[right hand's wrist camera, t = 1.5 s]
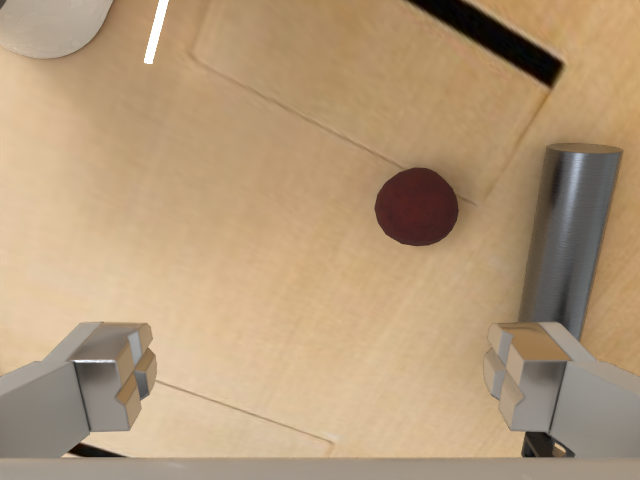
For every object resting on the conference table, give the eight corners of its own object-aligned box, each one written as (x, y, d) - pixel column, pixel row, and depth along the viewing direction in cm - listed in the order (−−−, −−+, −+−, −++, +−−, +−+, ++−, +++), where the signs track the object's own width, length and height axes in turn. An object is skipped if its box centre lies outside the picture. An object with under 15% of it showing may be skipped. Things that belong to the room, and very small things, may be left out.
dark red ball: (443, 229, 46) (465, 255, 39) (370, 232, 46) (379, 258, 39) (448, 160, 43) (471, 175, 37) (370, 163, 43) (380, 178, 37)
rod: (534, 143, 43) (568, 153, 37) (596, 142, 43) (640, 152, 37) (499, 372, 52) (522, 408, 47) (550, 371, 52) (578, 407, 47)
